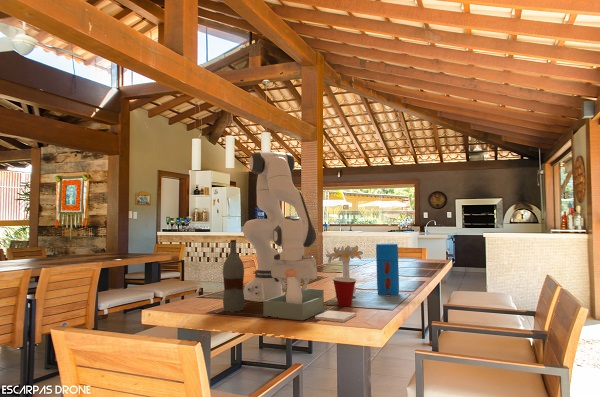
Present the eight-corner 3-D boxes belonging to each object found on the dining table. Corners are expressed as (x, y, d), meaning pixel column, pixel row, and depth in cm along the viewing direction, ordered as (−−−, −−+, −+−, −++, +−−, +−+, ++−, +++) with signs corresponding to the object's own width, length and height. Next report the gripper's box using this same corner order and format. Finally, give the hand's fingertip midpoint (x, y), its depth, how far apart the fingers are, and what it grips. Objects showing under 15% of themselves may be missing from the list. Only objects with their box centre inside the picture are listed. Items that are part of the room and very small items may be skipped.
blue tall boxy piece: (377, 295, 213) (376, 244, 214) (377, 292, 223) (375, 243, 224) (399, 295, 211) (398, 244, 212) (398, 292, 221) (397, 243, 223)
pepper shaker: (305, 314, 172) (304, 266, 173) (287, 316, 170) (286, 267, 171) (301, 311, 179) (300, 265, 180) (283, 312, 177) (283, 265, 178)
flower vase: (327, 294, 220) (326, 245, 221) (363, 294, 218) (362, 244, 219) (326, 298, 207) (325, 246, 208) (364, 298, 205) (363, 246, 206)
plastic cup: (356, 308, 183) (355, 279, 184) (331, 307, 185) (330, 279, 186) (358, 303, 194) (357, 276, 194) (334, 302, 196) (333, 276, 197)
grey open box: (263, 316, 171) (263, 293, 172) (286, 307, 187) (286, 286, 187) (302, 320, 162) (302, 296, 163) (324, 311, 178) (323, 289, 178)
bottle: (238, 313, 178) (238, 240, 179) (219, 312, 180) (218, 240, 182) (248, 308, 187) (247, 239, 188) (229, 307, 189) (228, 239, 191)
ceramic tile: (314, 318, 164) (314, 316, 164) (328, 312, 175) (328, 310, 175) (343, 322, 158) (343, 319, 158) (355, 315, 169) (355, 313, 169)
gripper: (319, 255, 173) (320, 289, 172) (276, 254, 183) (277, 287, 182) (312, 256, 168) (313, 292, 167) (268, 255, 178) (269, 289, 177)
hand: (294, 289), depth 175 cm, fingers open, 8 cm apart
